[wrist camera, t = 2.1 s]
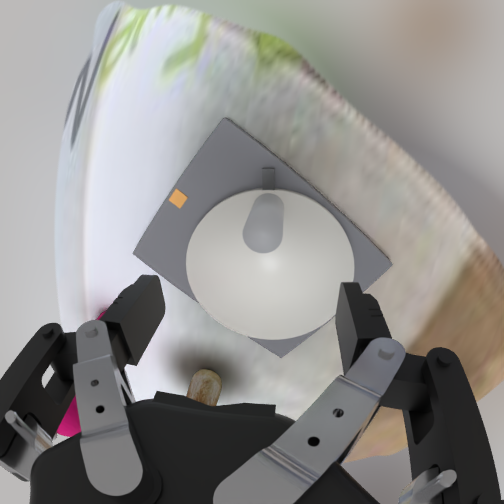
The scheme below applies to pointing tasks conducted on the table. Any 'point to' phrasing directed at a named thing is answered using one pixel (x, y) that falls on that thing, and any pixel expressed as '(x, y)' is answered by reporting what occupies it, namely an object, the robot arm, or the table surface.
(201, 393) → the decorative mushroom
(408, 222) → the table surface
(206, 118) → the table surface
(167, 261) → the dial base
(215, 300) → the cam dial
